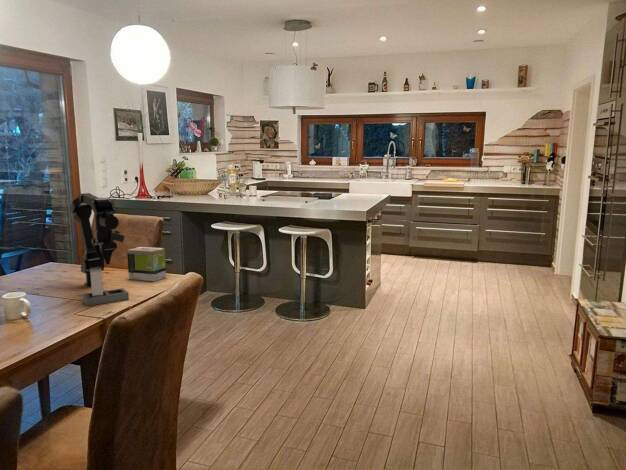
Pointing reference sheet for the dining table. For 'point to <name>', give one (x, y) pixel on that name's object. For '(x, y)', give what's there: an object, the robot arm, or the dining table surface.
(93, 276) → the grey tall block
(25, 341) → the dining table surface
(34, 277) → the dining table surface
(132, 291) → the dining table surface
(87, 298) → the grey compartment tray
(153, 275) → the tea box
